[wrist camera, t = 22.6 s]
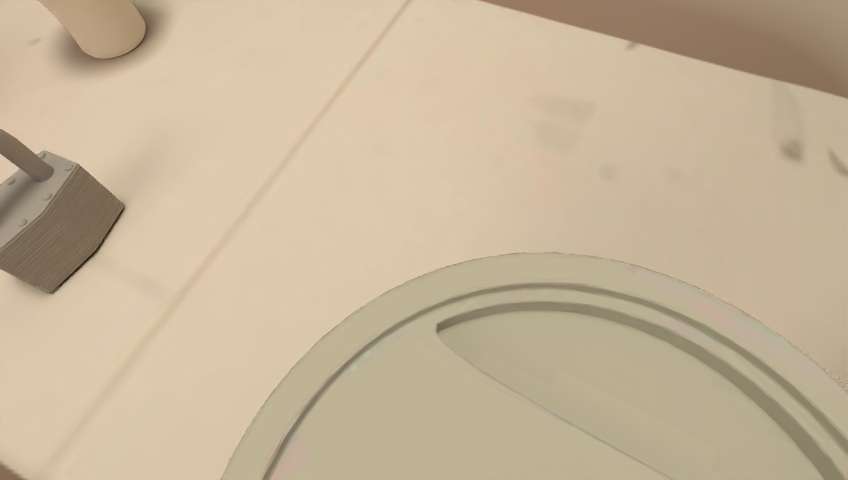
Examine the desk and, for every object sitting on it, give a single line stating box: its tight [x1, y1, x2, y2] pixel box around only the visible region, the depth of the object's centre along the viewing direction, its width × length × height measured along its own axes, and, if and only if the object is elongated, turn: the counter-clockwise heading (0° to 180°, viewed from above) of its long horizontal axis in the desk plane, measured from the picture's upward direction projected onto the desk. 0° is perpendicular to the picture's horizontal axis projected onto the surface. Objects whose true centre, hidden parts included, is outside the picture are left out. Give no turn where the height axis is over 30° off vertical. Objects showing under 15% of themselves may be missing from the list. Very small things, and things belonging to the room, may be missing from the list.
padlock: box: [0, 129, 124, 292], centre depth 27 cm, size 7×4×10 cm, turn 156°
